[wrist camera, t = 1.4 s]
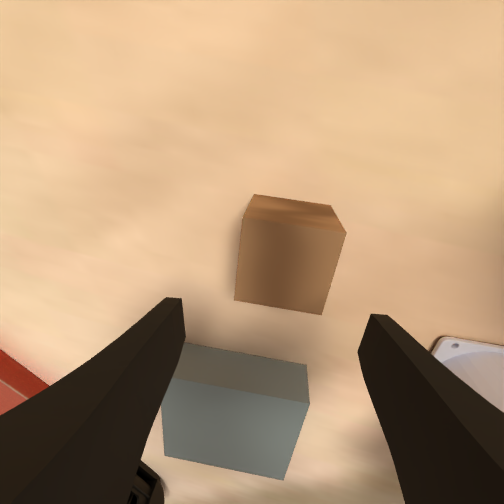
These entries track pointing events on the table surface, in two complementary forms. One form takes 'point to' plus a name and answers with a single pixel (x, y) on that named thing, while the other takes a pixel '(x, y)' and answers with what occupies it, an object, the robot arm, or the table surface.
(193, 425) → the slate-blue block
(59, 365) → the table surface
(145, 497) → the end cap
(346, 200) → the table surface
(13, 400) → the plant saucer
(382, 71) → the table surface
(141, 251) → the table surface
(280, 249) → the walnut cube
